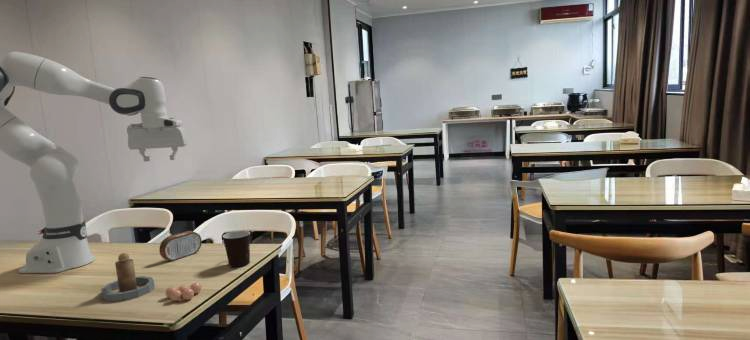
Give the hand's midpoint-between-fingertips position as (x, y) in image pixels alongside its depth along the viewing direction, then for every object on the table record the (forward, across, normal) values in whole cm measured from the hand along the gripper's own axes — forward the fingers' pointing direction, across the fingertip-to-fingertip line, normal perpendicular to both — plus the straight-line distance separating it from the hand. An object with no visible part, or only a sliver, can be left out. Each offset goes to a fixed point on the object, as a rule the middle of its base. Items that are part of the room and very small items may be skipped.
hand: (159, 160), depth 179 cm
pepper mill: (+33, +4, -43) cm, 54 cm away
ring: (+33, +4, -43) cm, 54 cm away
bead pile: (+33, +22, -50) cm, 64 cm away
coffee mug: (+33, +32, -23) cm, 52 cm away
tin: (+33, +9, -13) cm, 37 cm away
